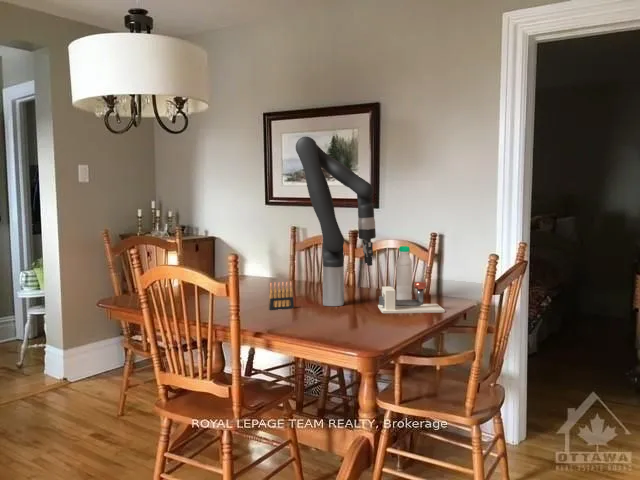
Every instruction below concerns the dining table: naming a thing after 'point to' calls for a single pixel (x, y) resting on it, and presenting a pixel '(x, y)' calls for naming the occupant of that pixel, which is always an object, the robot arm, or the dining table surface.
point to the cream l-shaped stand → (390, 306)
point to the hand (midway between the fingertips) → (368, 264)
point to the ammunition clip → (281, 297)
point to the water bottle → (404, 274)
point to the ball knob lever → (416, 302)
